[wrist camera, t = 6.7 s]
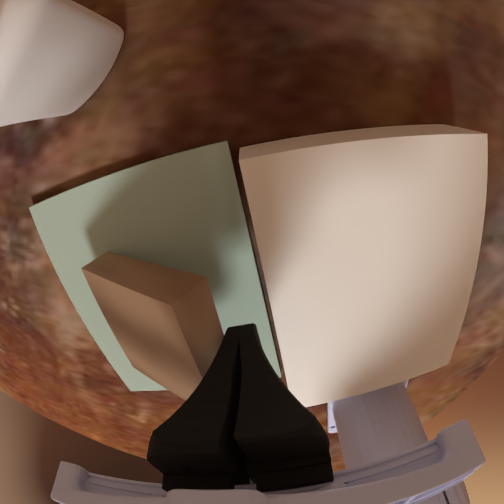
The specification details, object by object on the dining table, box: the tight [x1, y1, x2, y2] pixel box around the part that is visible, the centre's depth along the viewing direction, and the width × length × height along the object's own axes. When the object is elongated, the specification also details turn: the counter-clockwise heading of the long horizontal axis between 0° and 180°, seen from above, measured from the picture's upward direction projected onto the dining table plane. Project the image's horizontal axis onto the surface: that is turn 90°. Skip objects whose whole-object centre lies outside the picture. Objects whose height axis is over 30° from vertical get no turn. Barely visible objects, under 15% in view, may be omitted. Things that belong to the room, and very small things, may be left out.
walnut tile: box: [81, 251, 224, 400], centre depth 15 cm, size 8×8×2 cm
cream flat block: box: [239, 124, 488, 407], centre depth 15 cm, size 16×12×4 cm
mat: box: [29, 140, 281, 391], centre depth 18 cm, size 17×13×1 cm
